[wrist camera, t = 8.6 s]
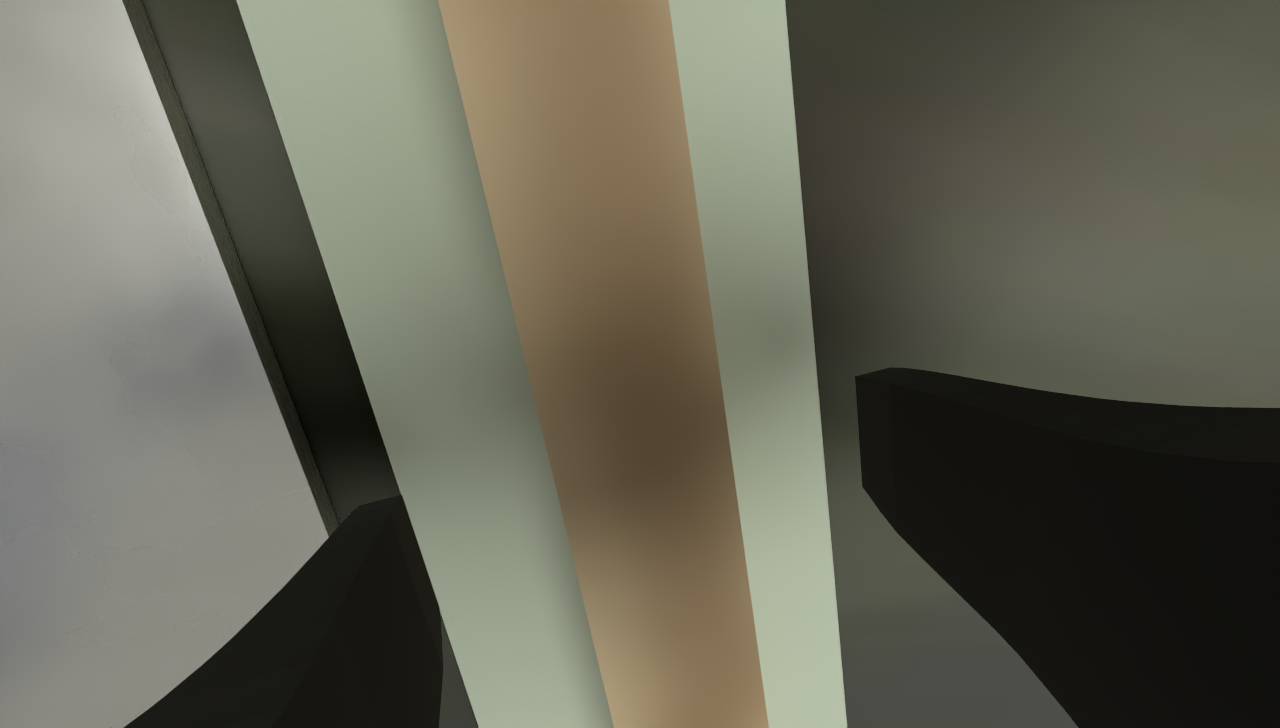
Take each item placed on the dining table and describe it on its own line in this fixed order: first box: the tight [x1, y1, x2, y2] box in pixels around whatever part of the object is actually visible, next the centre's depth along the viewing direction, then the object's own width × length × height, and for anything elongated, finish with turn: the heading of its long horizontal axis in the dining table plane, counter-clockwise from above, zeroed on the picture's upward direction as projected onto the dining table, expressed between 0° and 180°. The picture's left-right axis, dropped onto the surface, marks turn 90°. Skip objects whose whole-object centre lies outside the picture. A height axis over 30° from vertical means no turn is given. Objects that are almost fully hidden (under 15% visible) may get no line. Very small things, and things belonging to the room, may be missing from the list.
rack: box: [0, 0, 339, 728], centre depth 11 cm, size 7×23×6 cm, turn 9°
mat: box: [236, 0, 847, 728], centre depth 15 cm, size 9×28×1 cm, turn 9°
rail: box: [438, 0, 769, 728], centre depth 13 cm, size 3×24×3 cm, turn 9°
